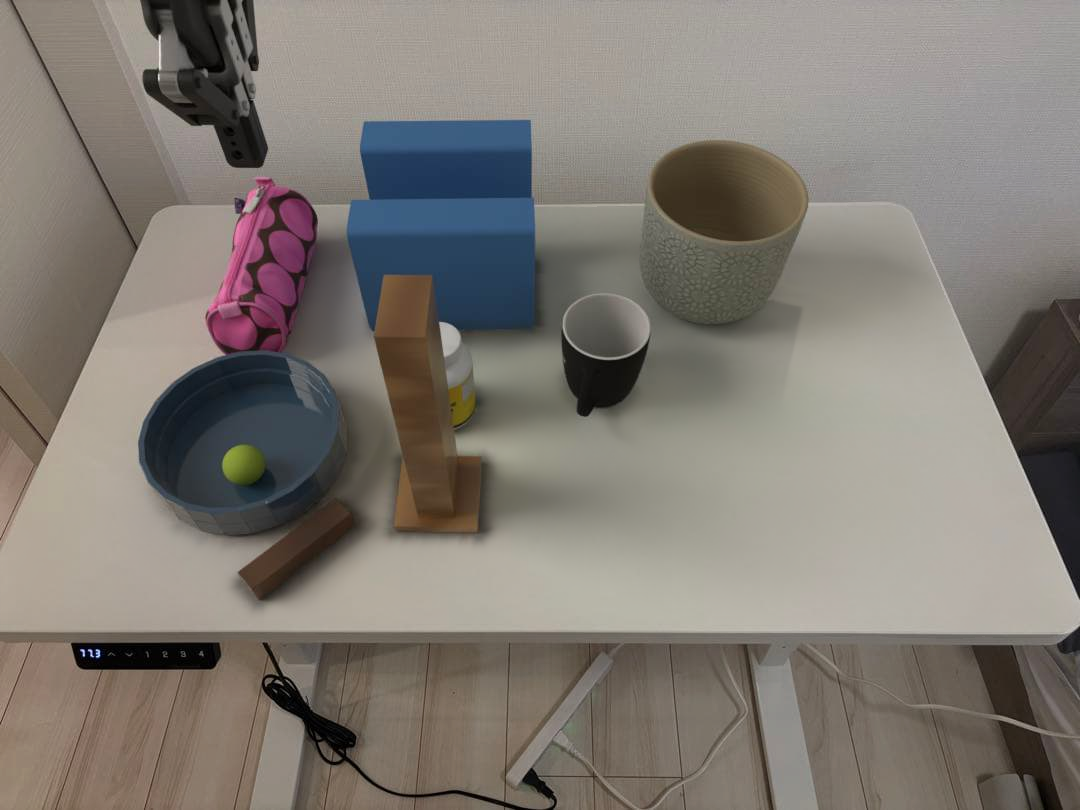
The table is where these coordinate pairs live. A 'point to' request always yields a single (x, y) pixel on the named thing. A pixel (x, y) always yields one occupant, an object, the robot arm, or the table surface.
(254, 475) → the grape
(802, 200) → the planter
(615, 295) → the mug
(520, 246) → the block
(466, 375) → the pill bottle
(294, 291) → the pencil case
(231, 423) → the bowl
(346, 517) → the stick
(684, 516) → the table surface
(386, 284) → the stand
